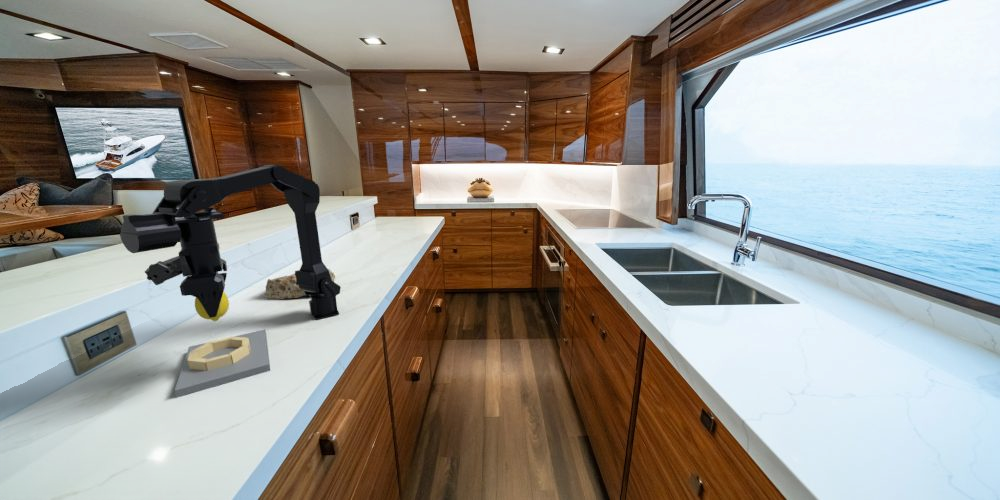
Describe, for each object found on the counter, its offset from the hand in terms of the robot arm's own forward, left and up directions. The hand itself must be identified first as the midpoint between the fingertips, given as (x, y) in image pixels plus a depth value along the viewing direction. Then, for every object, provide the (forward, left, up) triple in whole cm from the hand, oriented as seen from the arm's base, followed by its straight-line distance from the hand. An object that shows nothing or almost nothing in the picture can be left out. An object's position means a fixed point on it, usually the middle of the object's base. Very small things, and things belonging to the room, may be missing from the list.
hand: (214, 312), depth 73 cm
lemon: (0, 0, -2) cm, 2 cm away
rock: (-20, -40, -13) cm, 47 cm away
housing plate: (-1, 0, -12) cm, 12 cm away
